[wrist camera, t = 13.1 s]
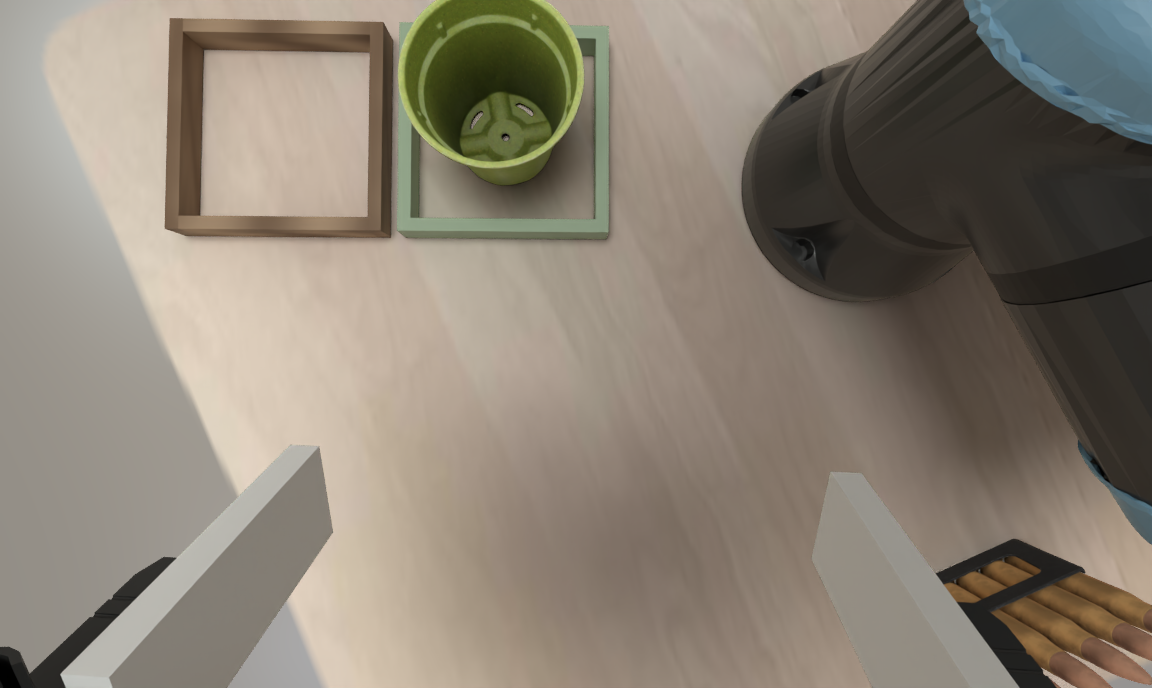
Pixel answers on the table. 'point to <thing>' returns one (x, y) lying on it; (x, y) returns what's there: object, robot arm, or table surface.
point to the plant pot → (492, 83)
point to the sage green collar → (412, 226)
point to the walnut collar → (187, 121)
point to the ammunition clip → (1057, 612)
